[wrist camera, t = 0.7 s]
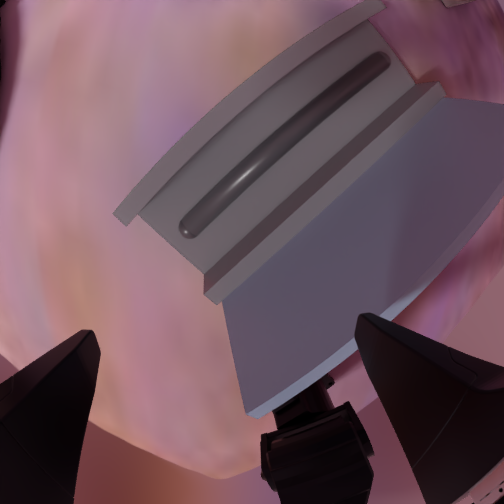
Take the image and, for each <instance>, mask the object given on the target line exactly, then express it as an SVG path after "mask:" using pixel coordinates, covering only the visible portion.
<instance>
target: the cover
mask: <svg viewBox="0 0 504 504" xmlns="http://www.w3.org/2000/svg"><path fill="white" fill-rule="evenodd" d="M503 196H504V104H498V103H491V102H484V101H476V100H467V99H457V98H444V97H443V98H442V99H441V100H440V101H439V102H438V103H437V104H436V105H435V106H434V107H433V108H432V109H431V110H430V111H429V112H428V113H427V114H426V115H425V116H424V117H423V118H422V119H421V120H419V121H418V122H417V123H416V124H415V125H414V126H413V127H412V128H411V129H410V130H409V131H408V132H407V133H406V134H405V135H404V136H403V137H402V138H400V139H399V140H398V141H397V142H396V143H395V144H394V145H393V146H392V147H391V148H390V149H389V150H388V151H387V152H386V153H385V154H383V155H382V156H381V157H380V158H379V159H378V160H377V161H376V162H375V163H374V164H373V165H372V166H371V167H370V168H368V169H367V170H366V171H365V172H364V173H363V174H362V175H361V176H360V177H359V178H358V179H357V180H356V181H354V182H353V183H352V184H351V185H350V186H349V187H348V188H347V189H346V190H345V191H344V192H343V193H341V194H340V195H339V196H338V197H337V198H336V199H335V200H334V201H333V202H332V203H331V204H329V205H328V206H327V207H326V208H325V209H324V210H323V211H322V212H321V213H320V214H318V215H317V216H316V217H315V218H314V219H313V220H312V221H311V222H310V223H309V224H307V225H306V226H305V227H304V228H303V229H302V230H301V231H300V232H299V233H298V234H296V235H295V236H294V237H293V238H292V239H291V240H290V241H289V242H288V243H286V244H285V245H284V246H283V247H282V248H281V249H280V250H279V251H278V252H276V253H275V254H274V255H273V256H272V257H271V258H270V259H269V260H267V261H266V262H265V263H264V264H263V265H262V266H261V267H260V268H258V269H257V270H256V271H255V272H254V273H253V274H252V275H251V276H249V277H248V278H247V279H246V280H245V281H244V282H243V283H242V284H240V285H239V286H238V287H237V288H236V289H235V290H234V291H232V292H231V293H230V294H229V295H228V296H227V297H226V298H225V299H223V300H222V303H223V309H224V314H225V319H226V324H227V329H228V334H229V339H230V344H231V349H232V353H233V358H234V363H235V368H236V372H237V377H238V381H239V386H240V390H241V395H242V399H243V404H244V408H245V412H246V415H249V416H251V417H254V418H256V419H259V418H261V417H262V416H264V415H266V414H267V413H269V412H270V411H272V410H274V409H275V408H277V407H278V406H280V405H282V404H283V403H285V402H286V401H288V400H289V399H291V398H292V397H294V396H295V395H297V394H298V393H300V392H301V391H303V390H304V389H305V388H307V387H308V386H310V385H311V384H313V383H314V382H315V381H317V380H318V379H320V378H321V377H322V376H324V375H325V374H326V373H328V372H329V371H331V370H332V369H333V368H335V367H336V366H337V365H338V364H340V363H341V362H342V361H344V360H345V359H346V358H348V357H349V356H350V355H351V354H353V353H354V352H355V351H356V350H358V347H357V344H356V341H355V338H354V332H355V327H356V323H357V318H358V315H359V314H361V313H367V312H370V313H373V314H375V315H377V316H380V317H382V318H384V319H387V320H389V321H392V320H393V319H394V318H395V317H396V316H397V315H398V314H399V313H400V312H401V311H402V310H404V309H405V308H406V307H407V306H408V305H409V304H410V303H411V302H412V301H413V300H414V299H415V298H416V297H417V296H418V295H419V294H420V293H421V292H422V291H423V290H424V289H425V288H426V287H427V286H428V285H429V284H430V283H431V282H432V281H433V280H434V279H435V278H436V277H437V276H438V275H439V274H440V273H441V272H442V270H443V269H444V268H445V267H446V266H447V265H448V264H449V263H450V262H451V261H452V260H453V258H454V257H455V256H456V255H457V254H458V253H459V252H460V250H461V249H462V248H463V247H464V246H465V245H466V243H467V242H468V241H469V240H470V239H471V238H472V236H473V235H474V234H475V233H476V231H477V230H478V229H479V228H480V226H481V225H482V224H483V223H484V221H485V220H486V219H487V217H488V216H489V215H490V214H491V212H492V211H493V210H494V208H495V207H496V205H497V204H498V203H499V201H500V200H501V199H502V197H503Z"/></svg>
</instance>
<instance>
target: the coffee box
mask: <svg viewBox="0 0 504 504" xmlns="http://www.w3.org/2000/svg"><path fill="white" fill-rule="evenodd" d="M472 1H475V0H442V2H443V3H444V5H445V6H446V7H447V8H449V7H453V6H457V5H461V4H466V3H469V2H472Z"/></svg>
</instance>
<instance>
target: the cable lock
mask: <svg viewBox="0 0 504 504" xmlns="http://www.w3.org/2000/svg"><path fill="white" fill-rule="evenodd" d="M5 2H6V1H5V0H0V8H1V7H2V5H3V4H4V3H5ZM0 22H1V18H0ZM0 80H1V61H0Z"/></svg>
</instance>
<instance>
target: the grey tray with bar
mask: <svg viewBox="0 0 504 504" xmlns="http://www.w3.org/2000/svg"><path fill="white" fill-rule="evenodd" d="M385 8H387V7H386V6H385V5H384V4H383V3H382V2H381V1H380V0H365V1H363V2H361V3H359V4H357V5H356V6H354V7H352V8H350V9H348V10H347V11H345V12H343V13H342V14H340V15H338V16H336V17H335V18H333V19H332V20H330V21H328V22H327V23H325V24H323V25H322V26H320V27H319V28H317V29H316V30H314V31H313V32H311V33H309V34H308V35H306V36H305V37H303V38H302V39H301V40H299V41H298V42H296V43H295V44H293V45H292V46H290V47H289V48H288V49H286V50H285V51H283V52H282V53H281V54H279V55H278V56H277V57H275V58H274V59H273V60H271V61H270V62H269V63H267V64H266V65H265V66H263V67H262V68H261V69H259V70H258V71H257V72H256V73H254V74H253V75H252V76H251V77H249V78H248V79H247V80H246V81H244V82H243V83H242V84H241V85H239V86H238V87H237V88H236V89H235V90H233V91H232V92H231V93H230V94H229V95H228V96H226V97H225V98H224V99H223V100H222V101H221V102H220V103H218V104H217V105H216V106H215V107H214V108H213V109H212V110H211V111H209V112H208V113H207V114H206V115H205V116H204V117H203V118H202V119H201V120H200V121H199V122H197V123H196V124H195V125H194V126H193V127H192V128H191V129H190V130H189V131H188V132H187V133H186V134H185V135H184V136H183V137H182V138H181V139H180V140H179V141H178V142H177V143H176V144H175V145H174V146H173V147H172V148H171V149H170V150H169V151H168V152H167V153H166V154H165V155H164V156H163V157H162V158H161V159H160V160H159V161H158V162H157V163H156V164H155V166H154V167H153V168H152V169H151V170H150V171H149V172H148V173H147V174H146V175H145V176H144V178H143V179H142V180H141V181H140V182H139V183H138V184H137V185H136V186H135V188H134V189H133V190H132V191H131V192H130V193H129V195H128V196H127V197H126V198H125V199H124V200H123V202H122V203H121V204H120V205H119V206H118V208H117V209H116V210H115V211H114V212H113V215H114V216H115V217H117V218H118V219H119V220H120V221H121V222H122V223H123V224H124V225H125V226H126V227H127V226H128V224H129V223H130V222H131V221H132V220H133V219H134V218H135V216H136V215H137V214H138V215H139V216H140V217H141V218H142V219H143V220H144V221H145V222H146V223H147V224H149V225H150V226H151V227H152V228H153V229H154V230H155V231H156V232H157V233H158V234H159V235H160V236H162V237H163V238H164V239H165V240H166V241H167V242H168V243H169V244H170V245H171V246H173V247H174V248H175V249H176V250H177V251H178V252H179V253H180V254H182V255H183V256H184V257H185V258H186V259H187V260H188V261H189V262H191V263H192V264H193V265H194V266H195V267H196V268H197V269H198V270H200V271H201V272H202V273H203V274H204V295H205V296H206V297H207V298H208V299H210V300H211V301H212V302H213V303H214V304H216V305H218V304H219V303H220V302H221V301H222V300H223V299H225V298H226V297H227V296H228V295H229V294H230V293H231V292H232V291H234V290H235V289H236V288H237V287H238V286H239V285H240V284H242V283H243V282H244V281H245V280H246V279H247V278H248V277H249V276H251V275H252V274H253V273H254V272H255V271H256V270H257V269H258V268H260V267H261V266H262V265H263V264H264V263H265V262H266V261H267V260H269V259H270V258H271V257H272V256H273V255H274V254H275V253H276V252H278V251H279V250H280V249H281V248H282V247H283V246H284V245H285V244H286V243H288V242H289V241H290V240H291V239H292V238H293V237H294V236H295V235H296V234H298V233H299V232H300V231H301V230H302V229H303V228H304V227H305V226H306V225H307V224H309V223H310V222H311V221H312V220H313V219H314V218H315V217H316V216H317V215H318V214H320V213H321V212H322V211H323V210H324V209H325V208H326V207H327V206H328V205H329V204H331V203H332V202H333V201H334V200H335V199H336V198H337V197H338V196H339V195H340V194H341V193H343V192H344V191H345V190H346V189H347V188H348V187H349V186H350V185H351V184H352V183H353V182H354V181H356V180H357V179H358V178H359V177H360V176H361V175H362V174H363V173H364V172H365V171H366V170H367V169H368V168H370V167H371V166H372V165H373V164H374V163H375V162H376V161H377V160H378V159H379V158H380V157H381V156H382V155H383V154H385V153H386V152H387V151H388V150H389V149H390V148H391V147H392V146H393V145H394V144H395V143H396V142H397V141H398V140H399V139H400V138H402V137H403V136H404V135H405V134H406V133H407V132H408V131H409V130H410V129H411V128H412V127H413V126H414V125H415V124H416V123H417V122H418V121H419V120H421V119H422V118H423V117H424V116H425V115H426V114H427V113H428V112H429V111H430V110H431V109H432V108H433V107H434V106H435V105H436V104H437V103H438V102H439V101H440V100H441V99H442V98H443V97H444V96H445V95H447V94H446V93H445V91H444V89H443V87H442V86H441V84H440V82H439V81H435V82H427V83H420V84H415V82H414V81H413V79H412V78H411V76H410V75H409V73H408V72H407V70H406V69H405V67H404V66H403V64H402V63H401V62H400V60H399V59H398V57H397V56H396V55H395V53H394V52H393V51H392V49H391V48H390V47H389V45H388V44H387V43H386V41H385V40H384V39H383V38H382V36H381V35H380V34H379V33H378V31H377V30H376V29H375V28H374V27H373V25H372V24H371V23H370V22H369V21H368V18H370V17H371V16H373V15H375V14H376V13H378V12H380V11H381V10H383V9H385Z"/></svg>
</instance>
